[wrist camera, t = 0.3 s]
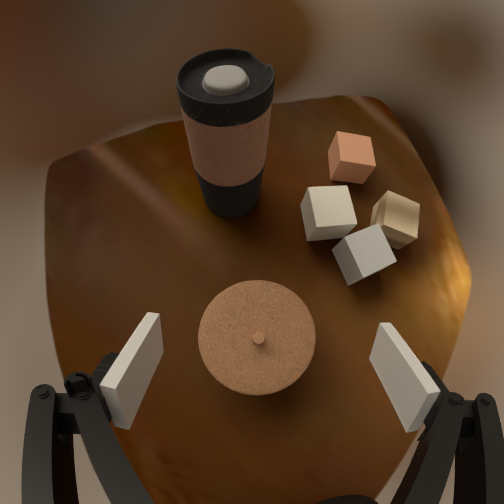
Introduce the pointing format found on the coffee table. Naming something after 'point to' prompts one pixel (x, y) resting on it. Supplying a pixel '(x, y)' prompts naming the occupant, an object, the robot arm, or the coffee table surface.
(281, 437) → the coffee table surface
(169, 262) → the coffee table surface
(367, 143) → the cube terracotta
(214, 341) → the lidded jar
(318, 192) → the cube cream
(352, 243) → the cube grey
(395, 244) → the cube maple
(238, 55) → the travel mug
